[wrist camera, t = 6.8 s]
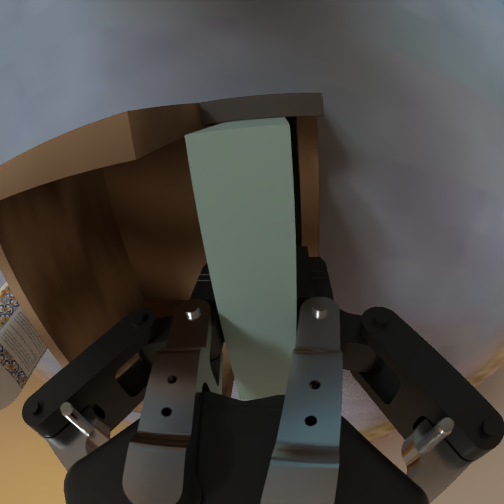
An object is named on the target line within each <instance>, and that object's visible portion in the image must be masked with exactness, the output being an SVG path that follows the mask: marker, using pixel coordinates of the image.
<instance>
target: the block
mask: <svg viewBox="0 0 504 504" xmlns="http://www.w3.org/2000/svg"><path fill="white" fill-rule="evenodd" d="M185 142H186V148H187V155H188V161H189V167H190V173H191V179H192V185H193V191H194V197H195V202H196V208H197V213H198V219H199V224H200V229H201V234H202V239H203V244H204V249H205V254H206V259H207V264H208V269H209V274H210V278H211V283H212V287H213V292H214V296H215V301H216V305H217V310H218V314H219V318H220V322H221V327H222V331H223V335H224V339H225V343H226V347H227V351H228V355H229V359H230V363H231V367H232V371H233V375H234V378H235V382H236V386H237V390H238V393H239V397H240V399H260V398H265V397H270V396H275V395H285V394H286V388H287V383H288V377H289V371H290V365H291V359H292V353H293V349H295V344H296V320H297V289H296V234H295V206H294V185H293V166H292V150H291V136H290V124H289V123H288V121H287V120H286V118H285V117H269V118H256V119H245V120H235V121H228V122H225V123H221V124H218V125H215V126H211V127H208V128H205V129H202V130H199V131H196V132H193V133H190V134H187V135H185Z"/></svg>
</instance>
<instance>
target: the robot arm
mask: <svg viewBox="0 0 504 504" xmlns="http://www.w3.org/2000/svg"><path fill="white" fill-rule="evenodd" d="M296 289H297V320H296V344H295V349H293V353H292V359H291V365H290V371H289V377H288V383H287V388H286V394H285V395H275V396H270V397H265V398H260V399H255V400H249V401H241V400H237V399H234V398H230V397H227V396H223V395H222V370H223V352H222V348H223V344H224V342H225V339H224V335H223V331H222V327H221V322H220V318H219V314H218V310H217V305H216V301H215V296H214V292H213V287H212V283H211V278H210V274H209V269H208V264H207V263H206V264H205V265H204V266H203V268H202V270H201V273H200V275H199V277H198V281H197V282H196V285H195V287H194V289H193V292H192V294H191V297H190V299H189V300H187V301H185V302H183V303H181V304H180V305H179V306H178V307H177V308H176V310H175V312H174V315H170V316H166V317H161V318H156V319H155V316H154V314H153V313H152V312H151V311H149V310H146V309H140V310H136V311H133V312H131V313H130V314H128V315H127V316H126V317H124V318H123V319H122V320H121V321H119V322H118V323H117V324H116V325H115V326H113V327H112V328H111V329H110V330H108V331H107V332H106V333H105V334H103V335H102V336H101V337H100V338H99V339H97V340H96V341H95V342H94V343H93V344H91V345H90V346H89V347H88V348H86V349H85V350H84V351H83V352H82V353H80V354H79V355H78V356H77V357H76V358H75V359H73V360H72V361H71V362H70V363H69V364H67V365H66V366H65V367H64V368H63V369H62V370H60V371H59V372H58V373H57V374H56V375H54V376H53V377H52V378H51V379H50V380H49V381H48V382H46V383H45V384H44V385H43V386H42V387H41V388H40V389H39V390H37V391H36V392H35V393H34V394H33V395H31V396H30V397H29V398H28V399H27V401H26V402H25V403H24V406H23V409H22V417H23V419H24V421H25V422H26V423H27V424H28V425H29V426H30V427H32V428H33V429H34V430H35V431H36V432H38V434H39V435H40V436H42V437H43V438H44V439H46V440H47V442H48V443H49V445H50V446H51V448H52V449H53V451H54V453H55V454H56V455H57V457H58V458H59V460H60V461H61V463H62V464H63V466H64V467H65V468H66V470H67V471H68V472H67V474H66V477H65V480H64V494H65V500H66V504H430V503H431V502H432V501H433V500H434V499H435V498H436V497H437V496H439V495H440V494H441V493H442V492H443V491H444V490H445V489H446V488H447V487H448V486H449V485H450V484H451V483H452V482H453V481H454V480H455V479H456V478H457V477H458V476H459V475H460V474H461V473H462V472H463V471H464V470H465V469H466V468H467V467H468V466H469V465H470V464H471V463H473V462H474V461H476V460H477V459H479V458H480V457H482V456H483V455H485V454H486V453H488V452H489V451H490V450H492V449H493V448H495V447H496V446H497V445H498V444H499V443H500V442H501V440H502V438H503V436H504V422H503V419H502V417H501V415H500V414H499V413H498V412H497V411H496V410H495V409H494V408H493V406H492V405H491V404H490V403H489V402H488V401H487V400H486V399H485V398H484V397H483V396H482V395H481V394H480V393H479V392H478V391H477V390H476V389H475V388H474V387H473V386H472V385H471V384H470V383H469V382H468V381H467V380H466V379H465V378H464V377H463V376H462V375H461V374H460V373H459V372H458V371H457V370H456V369H455V368H454V367H453V366H452V365H451V364H450V363H449V362H448V361H447V360H446V359H444V358H443V357H442V356H441V355H440V354H439V353H438V352H437V351H436V350H435V349H434V348H433V347H432V346H431V345H430V344H429V343H427V342H426V341H425V340H424V339H423V338H422V337H421V336H420V335H419V334H418V333H417V332H415V331H414V330H413V329H412V328H411V327H410V326H409V325H408V324H407V323H406V322H404V321H403V320H402V319H401V318H400V317H399V316H398V315H397V314H395V313H394V312H393V311H391V310H390V309H387V308H384V307H373V308H370V309H368V310H366V311H365V312H364V313H363V315H362V316H360V315H355V314H350V313H347V312H344V311H342V310H341V309H340V308H339V306H338V304H337V303H336V302H335V301H334V299H333V294H332V289H331V285H330V280H329V275H328V272H327V267H326V263H325V262H324V261H323V260H322V259H321V258H320V257H309V253H308V247H307V246H296ZM135 354H137V356H138V357H139V359H138V360H137V361H136V362H135V363H133V364H132V365H131V366H130V367H129V368H128V369H127V370H126V371H125V372H124V373H123V374H121V375H120V376H119V377H118V378H117V379H116V378H115V375H116V372H117V371H118V369H119V368H120V367H122V366H123V365H124V364H125V363H126V362H127V361H128V360H129V359H130V358H132V357H133V356H134V355H135ZM343 369H346V370H350V372H351V374H352V375H353V377H354V378H355V379H356V380H357V381H358V383H359V384H360V385H361V386H362V388H363V389H364V390H365V391H366V392H367V394H368V395H369V396H370V397H371V399H372V400H373V401H374V402H375V404H376V405H377V406H378V407H379V408H380V410H381V411H382V412H383V413H384V415H385V416H386V417H387V418H388V419H389V421H390V422H391V423H392V424H393V426H394V427H395V428H396V429H397V431H398V432H399V433H400V434H401V435H402V437H403V438H404V439H405V441H404V442H403V445H402V450H401V452H402V457H403V459H404V461H405V463H406V466H407V474H405V473H403V472H402V471H401V470H400V469H399V468H398V467H397V466H395V465H394V464H393V463H392V462H391V461H390V460H389V459H388V458H386V457H385V456H384V455H383V454H382V453H381V452H380V451H379V450H378V449H376V447H374V446H373V445H372V444H371V443H370V442H369V441H368V440H367V439H366V438H365V437H364V436H363V435H362V434H361V433H360V432H358V431H357V430H356V429H355V428H354V427H353V426H352V425H351V424H350V423H349V422H348V421H347V420H346V419H345V418H344V417H343V416H341V410H342V383H343ZM143 400H144V402H143V407H142V411H141V416H140V418H139V419H138V420H137V421H135V422H134V423H132V424H131V425H130V426H128V427H127V428H126V429H124V430H123V431H121V432H120V433H118V434H117V435H116V436H114V437H113V438H110V432H111V431H112V430H113V429H114V428H115V427H116V426H117V425H118V424H119V423H120V422H121V421H122V420H123V419H124V418H125V417H127V416H128V415H129V414H130V413H131V412H132V411H133V410H134V409H135V408H136V407H137V406H138V405H139V404H140V403H141V402H142V401H143Z"/></svg>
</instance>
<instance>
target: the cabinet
mask: <svg viewBox="0 0 504 504" xmlns="http://www.w3.org/2000/svg"><path fill="white" fill-rule="evenodd" d="M287 116H295V127H296V142H297V159H298V179H299V204H300V246H307V247H308V253H309V257H318V255H319V163H318V137H317V119H316V116H324V114H323V99H322V93H287V94H270V95H257V96H246V97H237V98H229V99H221V100H214V101H208V102H202V103H192V104H180V105H170V106H161V107H153V108H146V109H139V110H132V111H127V112H123V113H120V114H117V115H114V116H111V117H108V118H105V119H102V120H99V121H96V122H93V123H90V124H88V125H85V126H82V127H80V128H77V129H75V130H72V131H70V132H67V133H65V134H62V135H60V136H58V137H55V138H53V139H51V140H49V141H47V142H44V143H42V144H40V145H38V146H36V147H34V148H32V149H30V150H28V151H26V152H24V153H22V154H20V155H18V156H16V157H15V158H13V159H11V160H9V161H7V162H6V163H4V164H2V165H0V269H1V271H2V273H3V275H4V277H5V279H6V281H7V283H8V285H9V287H10V289H11V291H12V293H13V294H14V296H15V298H16V300H17V301H18V303H19V305H20V307H21V308H22V310H23V312H24V313H25V315H26V316H27V318H28V320H29V321H30V323H31V324H32V326H33V327H34V329H35V330H36V332H37V333H38V335H39V336H40V338H41V339H42V341H43V342H44V343H45V345H46V346H47V348H48V349H49V350H50V352H51V353H52V354H53V356H54V357H55V358H56V360H57V361H58V362H59V363H60V365H61V366H62V367H63V368H64V367H65V366H66V365H67V364H69V363H70V362H71V361H72V360H73V359H75V358H76V357H77V356H78V355H79V354H80V353H82V352H83V351H84V350H85V349H86V348H88V347H89V346H90V345H91V344H93V343H94V342H95V341H96V340H97V339H99V338H100V337H101V336H102V335H103V334H105V333H106V332H107V331H108V330H110V329H111V328H112V327H113V326H115V325H116V324H117V323H118V322H119V321H121V320H122V319H123V318H124V317H126V316H127V315H128V314H130V313H131V312H133V311H136V310H140V309H146V310H149V311H151V312H152V313H153V314H154V316H155V319H156V318H161V317H166V316H170V315H174V312H175V310H176V308H177V307H178V306H179V305H180V304H181V303H183V302H185V301H187V300H189V299H190V297H191V294H192V292H193V289H194V287H195V285H196V282H197V281H198V277H199V275H200V273H201V270H202V268H203V266H204V265H205V264H206V263H207V259H206V254H205V249H204V244H203V239H202V234H201V229H200V224H199V219H198V213H197V208H196V202H195V197H194V191H193V185H192V179H191V173H190V167H189V161H188V155H187V148H186V142H185V135H187V134H190V133H193V132H196V131H199V130H202V129H205V128H208V127H211V126H215V125H218V124H221V123H225V122H228V121H235V120H245V119H256V118H269V117H287ZM222 352H223V370H222V395H223V396H227V397H230V398H231V393H232V387H233V381H234V375H233V371H232V367H231V363H230V359H229V355H228V351H227V347H226V343H225V342H224V344H223V348H222ZM138 359H139V357H138V356H137V354H135V355H134V356H133V357H132V358H130V359H129V360H128V361H127V362H126V363H125V364H124V365H123V366H122V367H120V368H119V369H118V371H117V372H116V375H115V378H116V379H117V378H118V377H119V376H120V375H121V374H123V373H124V372H125V371H126V370H127V369H128V368H129V367H130V366H131V365H132V364H133V363H135V362H136V361H137V360H138ZM143 402H144V400H143V401H142V402H141V403H140V404H139V405H138V406H137V407H136V408H135V409H134V410H133V411H134V412H138V413H141V411H142V407H143Z"/></svg>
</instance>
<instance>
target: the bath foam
mask: <svg viewBox="0 0 504 504" xmlns="http://www.w3.org/2000/svg"><path fill="white" fill-rule="evenodd" d="M47 349H48V348H47V346H46V345H45V343H44V342H43V341H42V339H41V338H40V336H39V335H38V333H37V332H36V330H35V329H34V327H33V326H32V324H31V323H30V321H29V320H28V318H27V316H26V315H25V313H24V312H23V310H22V308H21V307H20V305H19V303H18V301H17V300H16V298H15V296H14V294H13V293H12V291H11V289H10V287H9V285H8V283H7V282H6V283H5V284H4V285H3V286H2V287H1V288H0V410H2V409H4V408H5V407H7V406H8V405H10V404H11V403H12V402H13V401H14V400H15V399H16V398H17V397H18V395H19V394H20V392H21V391H22V389H23V387H24V386H25V384H26V382H27V381H28V379H29V377H30V375H31V374H32V372H33V371H34V369H35V367H36V366H37V364H38V363H39V361H40V359H41V358H42V356H43V355H44V353H45V352H46V350H47Z"/></svg>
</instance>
